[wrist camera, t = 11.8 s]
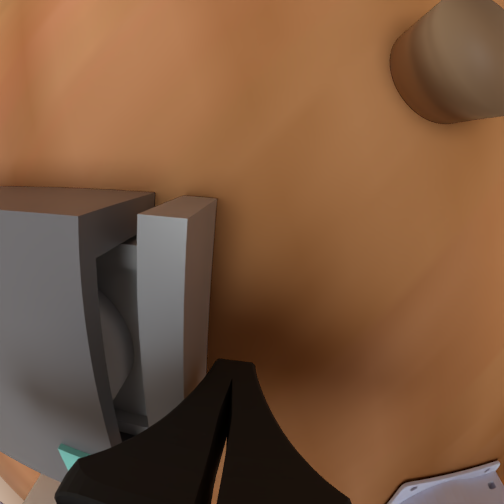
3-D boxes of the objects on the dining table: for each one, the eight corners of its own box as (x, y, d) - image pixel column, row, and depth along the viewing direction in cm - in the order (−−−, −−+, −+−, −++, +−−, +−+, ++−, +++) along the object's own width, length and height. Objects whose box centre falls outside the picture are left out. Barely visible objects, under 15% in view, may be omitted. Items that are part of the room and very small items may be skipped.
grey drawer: (217, 198, 11) (187, 219, 7) (204, 442, 14) (189, 507, 10) (-37, 186, 11) (-95, 200, 7) (-3, 377, 15) (-39, 413, 11)
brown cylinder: (473, 48, 9) (530, 23, 5) (473, 135, 10) (539, 132, 6) (390, 17, 9) (432, -29, 5) (387, 109, 10) (440, 88, 6)
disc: (18, 266, 11) (-6, 278, 10) (128, 281, 11) (109, 299, 9) (41, 373, 13) (24, 390, 11) (140, 400, 13) (129, 423, 11)
